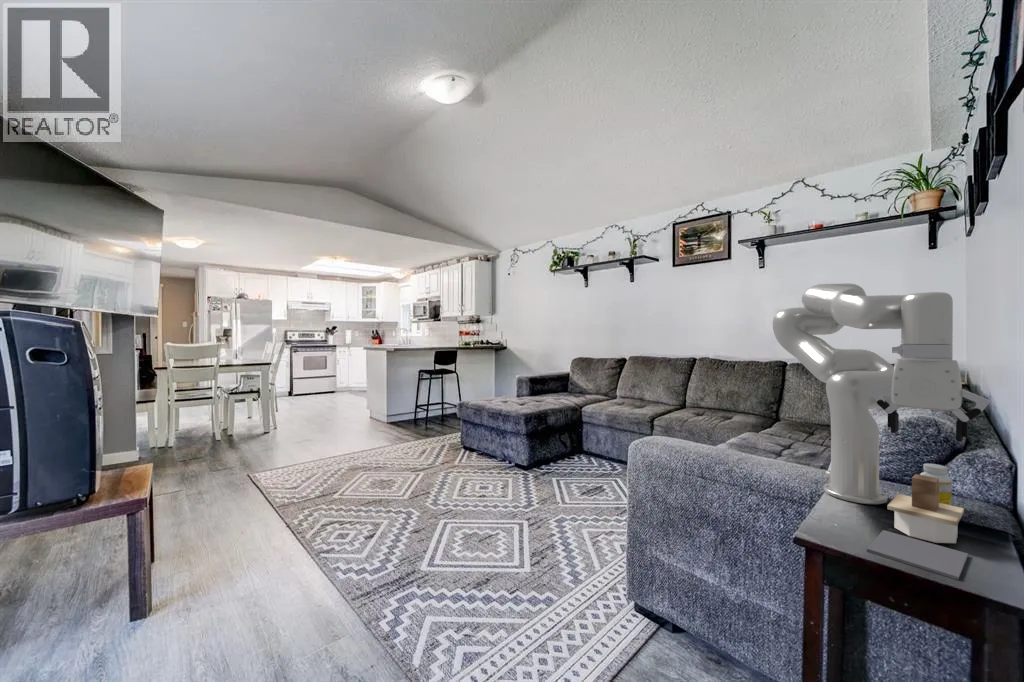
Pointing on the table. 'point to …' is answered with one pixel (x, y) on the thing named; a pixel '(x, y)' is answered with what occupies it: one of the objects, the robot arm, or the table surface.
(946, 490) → the supplement bottle
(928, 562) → the mat
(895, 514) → the bowl
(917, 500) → the lid
